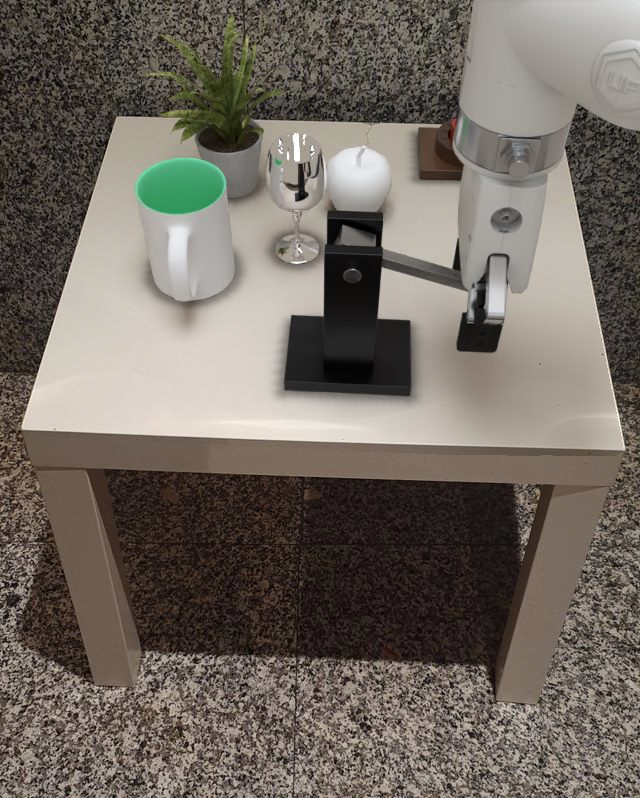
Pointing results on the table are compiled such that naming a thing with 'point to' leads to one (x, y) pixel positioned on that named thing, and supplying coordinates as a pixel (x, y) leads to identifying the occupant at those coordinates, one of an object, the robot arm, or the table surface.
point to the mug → (186, 227)
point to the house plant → (222, 115)
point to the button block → (438, 154)
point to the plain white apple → (358, 180)
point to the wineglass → (296, 189)
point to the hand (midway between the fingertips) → (472, 310)
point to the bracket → (350, 323)
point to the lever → (409, 263)
